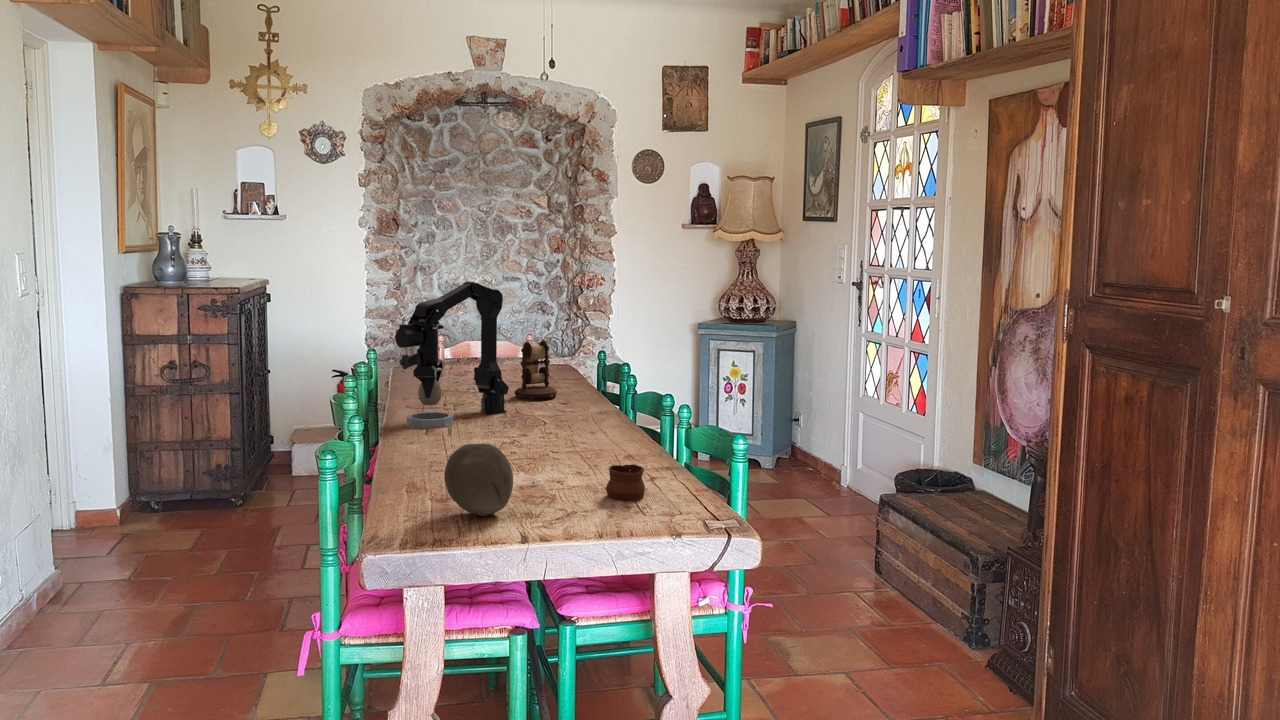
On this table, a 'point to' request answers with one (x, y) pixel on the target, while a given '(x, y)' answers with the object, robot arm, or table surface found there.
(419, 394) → the vase
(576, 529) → the table surface
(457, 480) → the dark brown round lump
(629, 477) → the ceramic pot
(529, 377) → the spool holder stand
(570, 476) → the table surface
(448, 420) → the ring dish
